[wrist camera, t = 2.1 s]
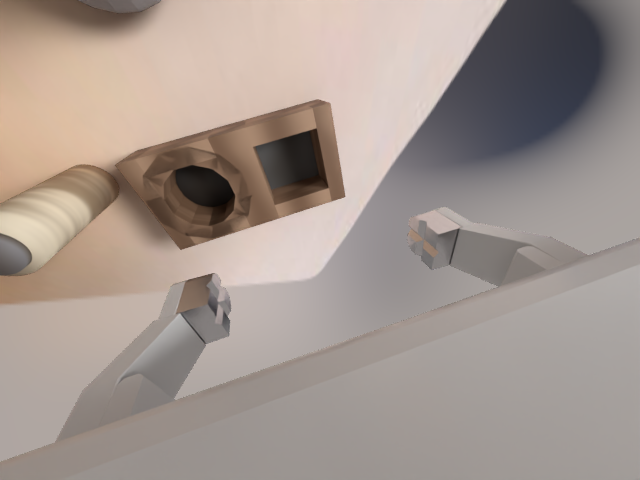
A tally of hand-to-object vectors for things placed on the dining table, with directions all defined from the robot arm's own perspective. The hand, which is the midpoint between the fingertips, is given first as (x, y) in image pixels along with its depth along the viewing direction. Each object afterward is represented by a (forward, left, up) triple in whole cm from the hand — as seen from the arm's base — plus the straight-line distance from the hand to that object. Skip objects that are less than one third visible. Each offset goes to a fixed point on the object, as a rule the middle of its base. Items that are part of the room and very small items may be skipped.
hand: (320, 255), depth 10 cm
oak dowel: (+20, -1, -22) cm, 30 cm away
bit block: (+4, +2, -22) cm, 22 cm away
